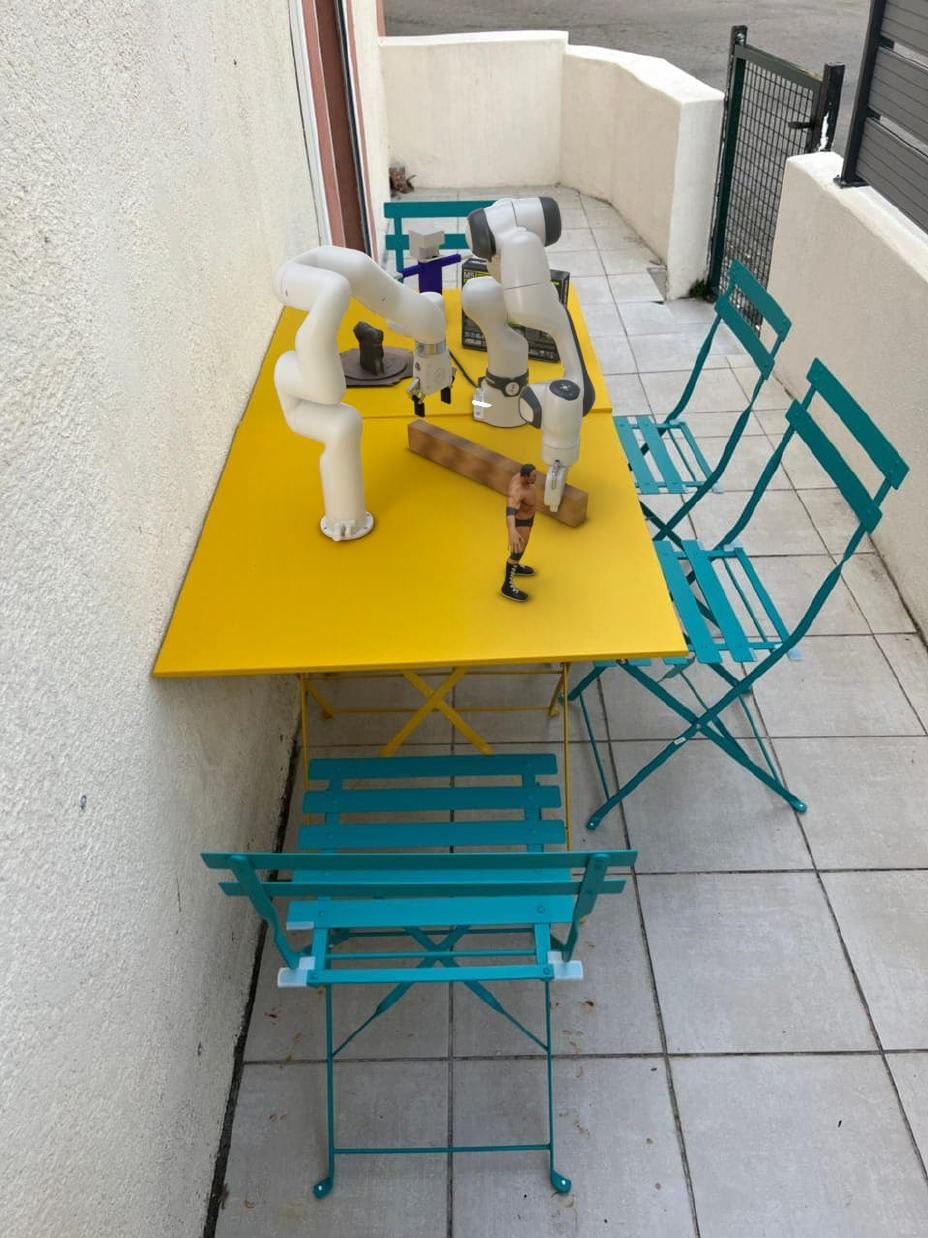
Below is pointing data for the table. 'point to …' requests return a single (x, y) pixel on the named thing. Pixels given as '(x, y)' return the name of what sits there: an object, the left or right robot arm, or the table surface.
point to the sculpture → (375, 359)
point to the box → (538, 341)
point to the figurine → (519, 526)
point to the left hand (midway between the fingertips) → (433, 408)
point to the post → (489, 468)
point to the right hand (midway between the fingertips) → (556, 501)
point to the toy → (428, 258)
